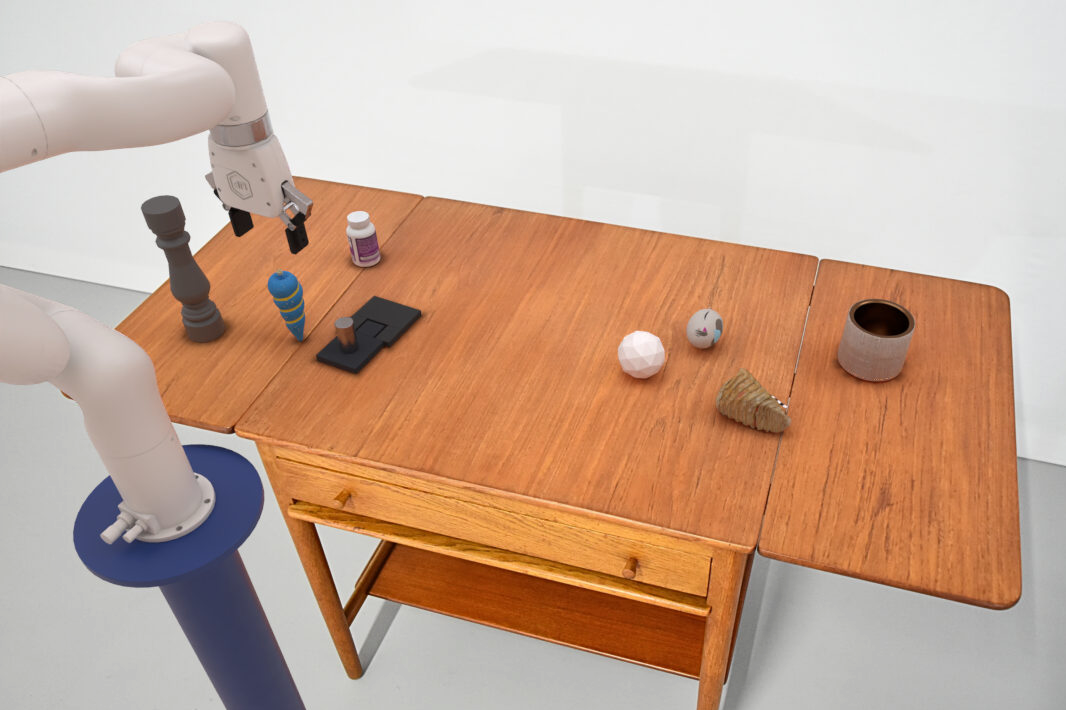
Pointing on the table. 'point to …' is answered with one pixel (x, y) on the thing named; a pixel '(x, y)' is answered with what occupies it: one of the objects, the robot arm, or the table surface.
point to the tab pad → (360, 354)
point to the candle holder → (183, 269)
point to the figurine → (704, 328)
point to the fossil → (751, 403)
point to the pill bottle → (362, 239)
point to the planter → (876, 339)
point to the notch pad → (387, 318)
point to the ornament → (289, 300)
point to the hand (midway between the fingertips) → (272, 240)
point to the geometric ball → (641, 354)
